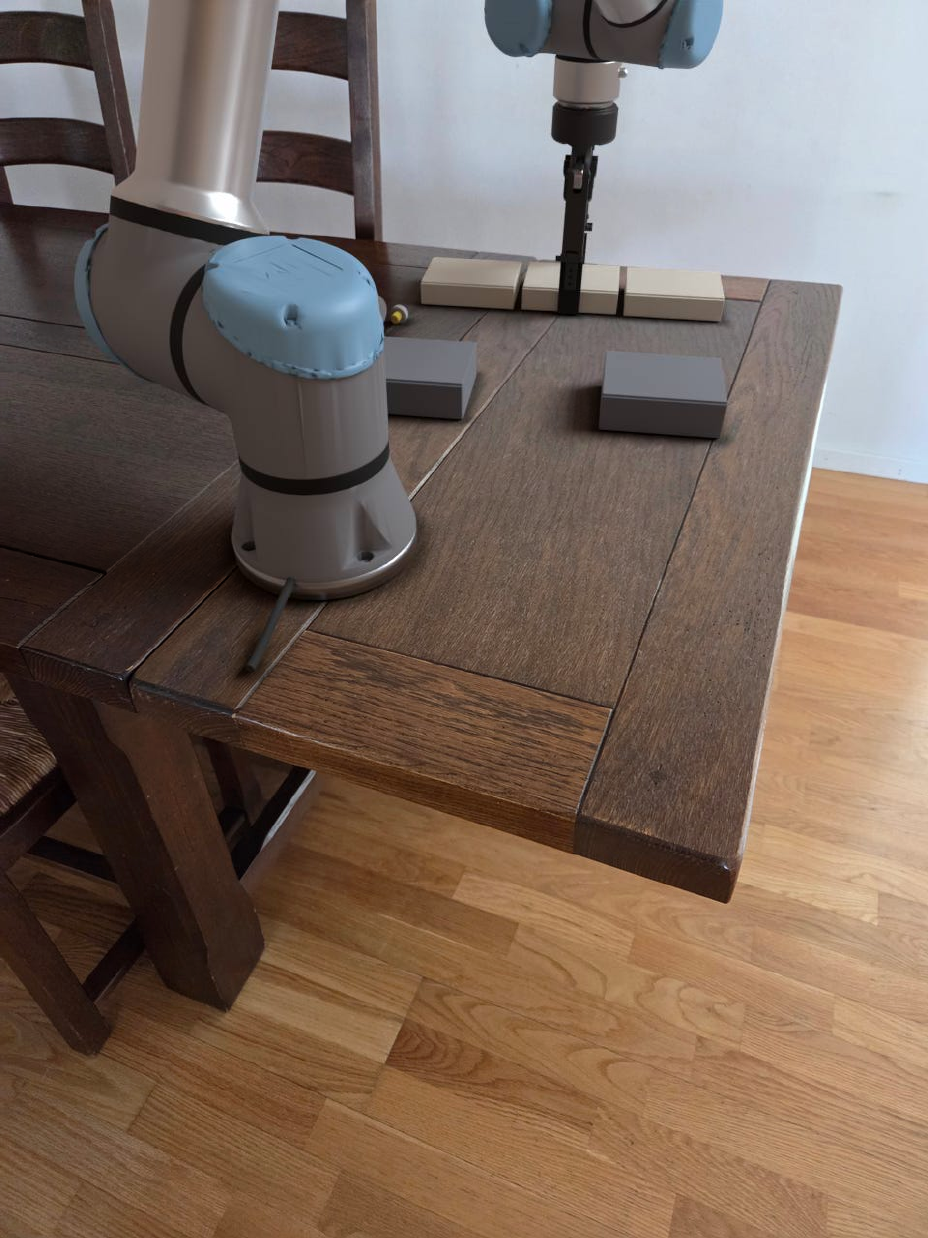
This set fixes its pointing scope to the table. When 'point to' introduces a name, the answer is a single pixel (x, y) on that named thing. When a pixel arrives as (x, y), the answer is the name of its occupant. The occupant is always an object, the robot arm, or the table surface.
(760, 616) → the table surface
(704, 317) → the cream lidded box
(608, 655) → the table surface
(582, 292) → the beige flat box
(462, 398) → the grey lidded box
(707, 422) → the dark grey box
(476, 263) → the cream flat block
